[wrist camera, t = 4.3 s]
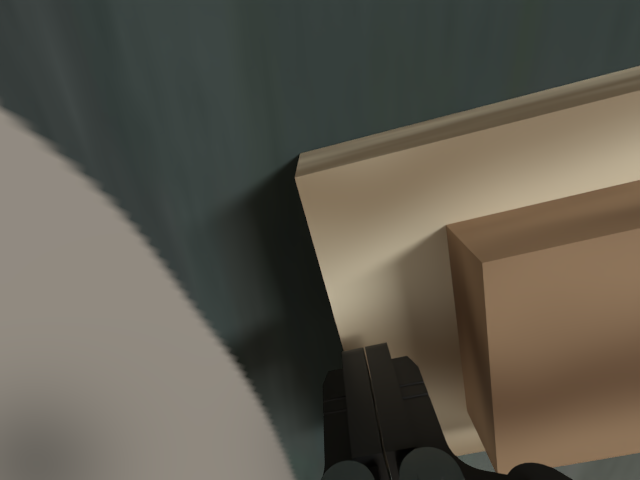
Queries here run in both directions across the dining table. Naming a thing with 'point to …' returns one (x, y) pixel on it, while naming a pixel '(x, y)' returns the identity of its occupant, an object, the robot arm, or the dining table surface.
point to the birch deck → (451, 212)
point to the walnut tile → (551, 327)
